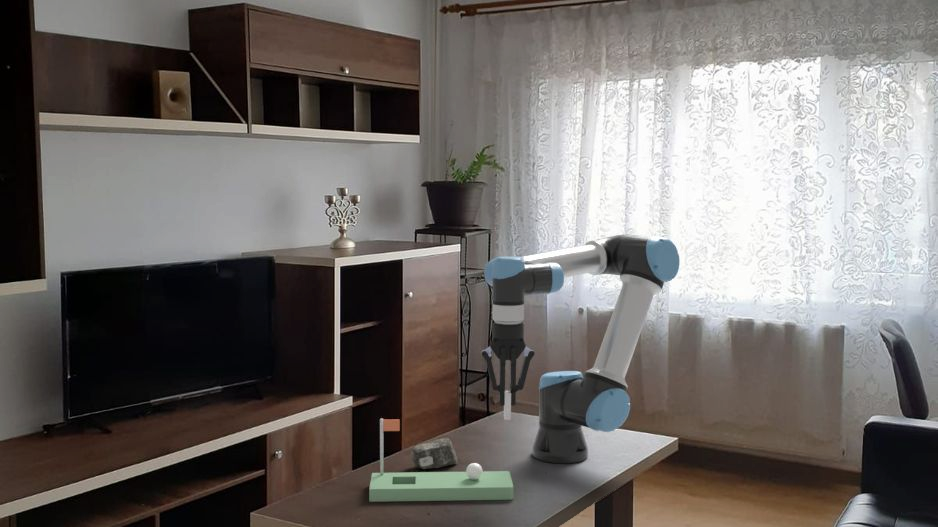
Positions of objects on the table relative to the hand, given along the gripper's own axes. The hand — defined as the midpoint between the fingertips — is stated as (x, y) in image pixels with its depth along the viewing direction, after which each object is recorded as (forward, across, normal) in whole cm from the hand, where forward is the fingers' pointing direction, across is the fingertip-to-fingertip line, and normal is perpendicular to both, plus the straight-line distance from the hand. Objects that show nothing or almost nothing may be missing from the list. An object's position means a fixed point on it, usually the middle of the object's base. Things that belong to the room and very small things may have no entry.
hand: (507, 418), depth 224 cm
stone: (+18, +17, -20) cm, 32 cm away
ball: (+13, +8, 0) cm, 15 cm away
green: (+18, +16, 0) cm, 24 cm away
